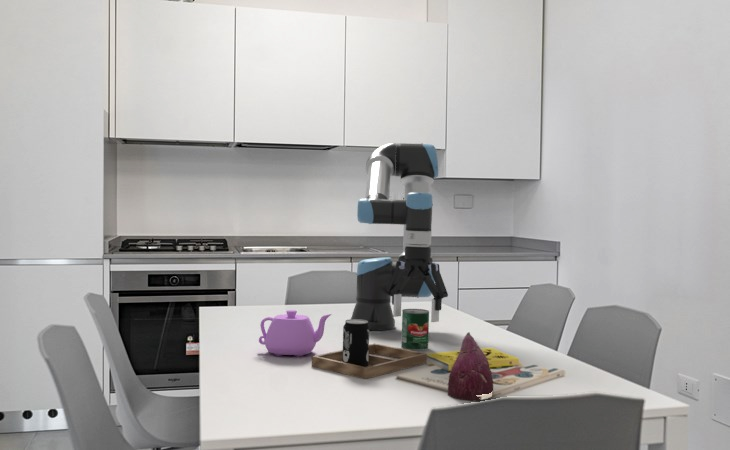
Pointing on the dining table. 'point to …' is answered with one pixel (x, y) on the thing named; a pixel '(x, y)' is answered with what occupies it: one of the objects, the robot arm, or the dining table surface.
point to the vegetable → (470, 372)
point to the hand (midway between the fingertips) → (415, 319)
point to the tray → (371, 361)
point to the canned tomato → (415, 329)
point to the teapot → (291, 334)
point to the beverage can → (356, 342)
